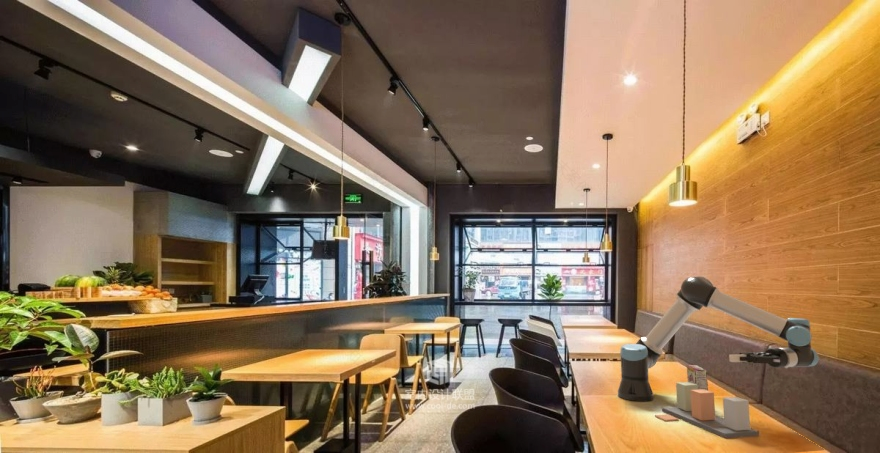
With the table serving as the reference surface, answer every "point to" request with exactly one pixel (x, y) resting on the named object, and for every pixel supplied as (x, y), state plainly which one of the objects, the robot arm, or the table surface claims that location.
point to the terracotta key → (702, 404)
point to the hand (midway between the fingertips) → (730, 358)
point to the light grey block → (736, 413)
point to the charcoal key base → (710, 424)
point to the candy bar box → (697, 376)
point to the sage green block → (685, 395)
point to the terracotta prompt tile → (667, 417)
